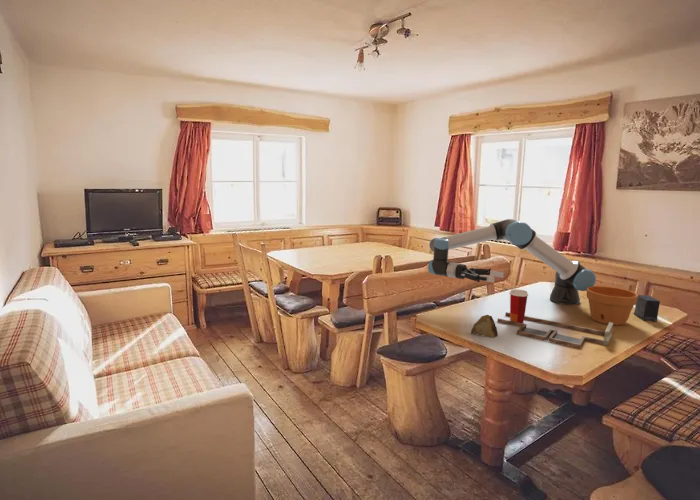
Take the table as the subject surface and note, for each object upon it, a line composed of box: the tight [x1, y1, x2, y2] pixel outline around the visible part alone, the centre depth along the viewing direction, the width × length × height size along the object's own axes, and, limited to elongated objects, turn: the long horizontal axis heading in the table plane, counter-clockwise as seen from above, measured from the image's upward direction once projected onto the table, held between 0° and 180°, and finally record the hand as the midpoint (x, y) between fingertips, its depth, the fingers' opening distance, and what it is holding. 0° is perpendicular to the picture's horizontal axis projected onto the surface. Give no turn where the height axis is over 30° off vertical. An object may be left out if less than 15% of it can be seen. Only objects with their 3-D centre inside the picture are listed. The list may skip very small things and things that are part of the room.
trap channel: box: [497, 311, 614, 349], centre depth 188 cm, size 46×24×6 cm, turn 53°
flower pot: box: [586, 285, 639, 326], centre depth 204 cm, size 21×21×15 cm
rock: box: [470, 314, 499, 338], centre depth 185 cm, size 11×9×10 cm
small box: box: [633, 294, 661, 322], centre depth 209 cm, size 11×6×10 cm, turn 168°
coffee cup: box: [509, 288, 529, 324], centre depth 201 cm, size 8×8×15 cm
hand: (498, 277), depth 205 cm, fingers open, 13 cm apart
